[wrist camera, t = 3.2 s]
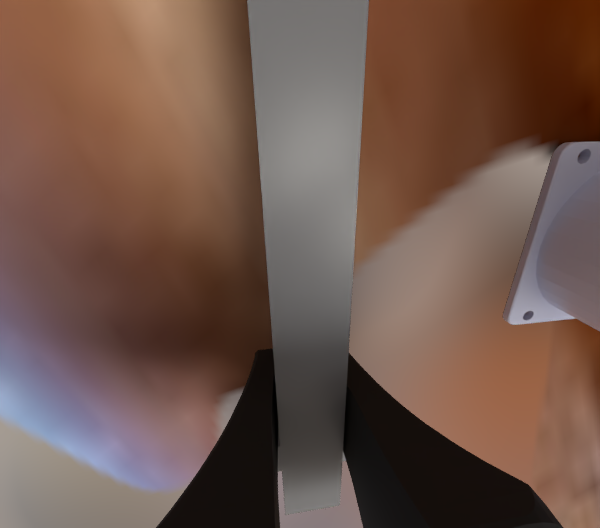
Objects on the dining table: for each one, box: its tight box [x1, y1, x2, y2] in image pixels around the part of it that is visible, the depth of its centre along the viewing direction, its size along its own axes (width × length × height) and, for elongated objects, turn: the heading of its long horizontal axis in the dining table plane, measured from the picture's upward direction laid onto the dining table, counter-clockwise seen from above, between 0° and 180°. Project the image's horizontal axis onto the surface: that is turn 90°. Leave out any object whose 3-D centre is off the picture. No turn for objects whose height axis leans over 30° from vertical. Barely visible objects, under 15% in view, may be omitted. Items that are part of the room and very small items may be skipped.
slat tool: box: [247, 0, 369, 515], centre depth 8 cm, size 5×20×4 cm, turn 1°
